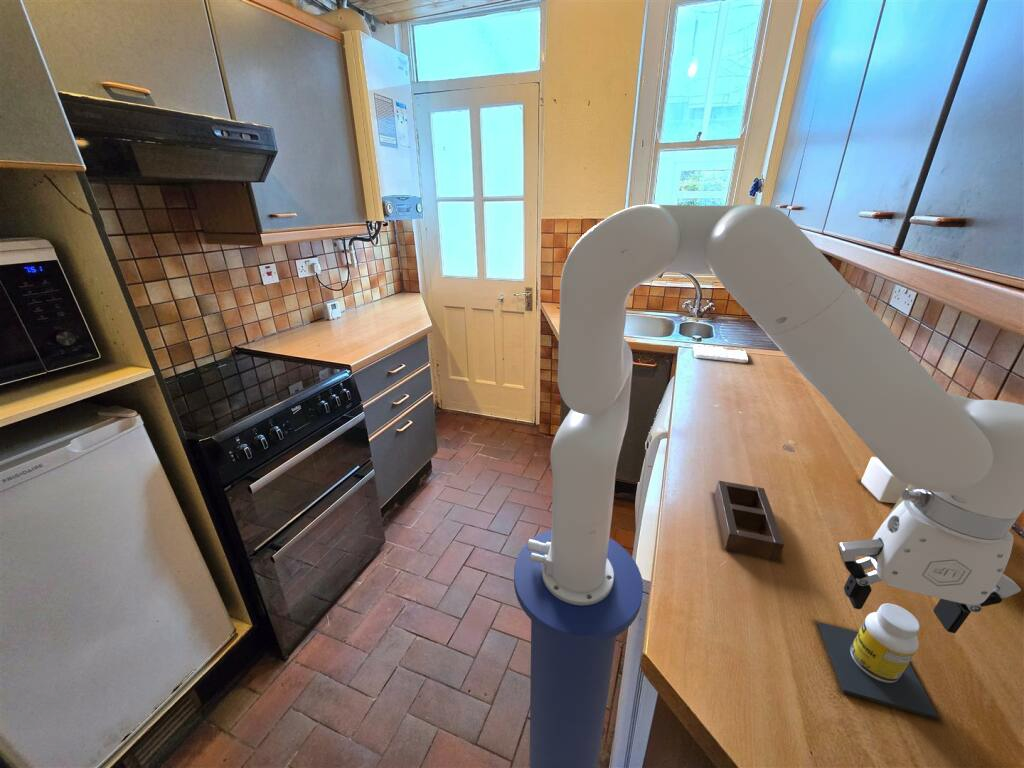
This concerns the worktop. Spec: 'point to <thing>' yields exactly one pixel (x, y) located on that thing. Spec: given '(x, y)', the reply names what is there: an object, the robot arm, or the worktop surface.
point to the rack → (748, 521)
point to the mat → (860, 684)
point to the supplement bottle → (886, 643)
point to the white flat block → (720, 354)
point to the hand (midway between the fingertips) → (896, 610)
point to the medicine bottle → (882, 482)
